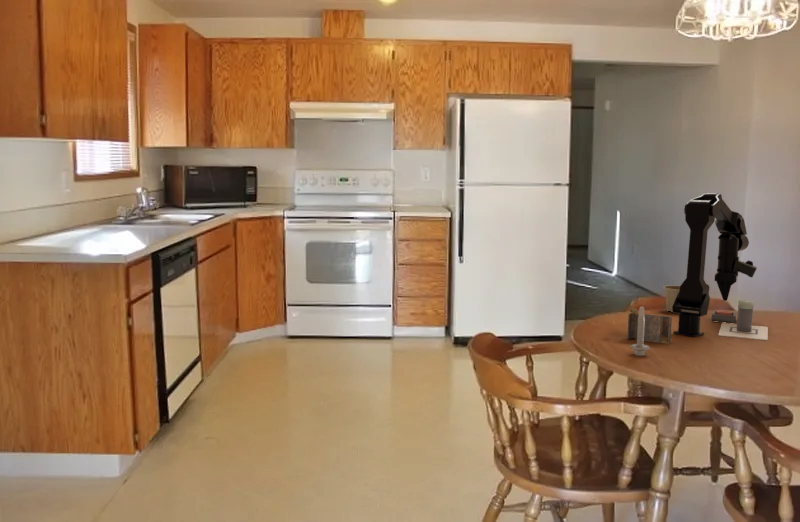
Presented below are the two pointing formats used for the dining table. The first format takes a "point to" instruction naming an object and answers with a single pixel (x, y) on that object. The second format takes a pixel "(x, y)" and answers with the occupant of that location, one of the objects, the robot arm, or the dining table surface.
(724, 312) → the button
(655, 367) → the dining table surface
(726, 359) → the dining table surface
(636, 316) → the bent metal bracket
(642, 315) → the screw
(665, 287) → the flower pot
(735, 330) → the paper sheet
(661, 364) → the dining table surface
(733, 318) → the button housing
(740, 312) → the grey cylinder
